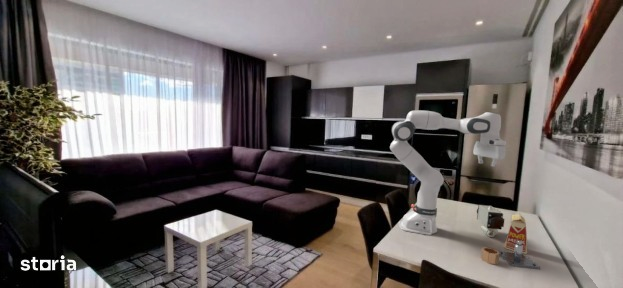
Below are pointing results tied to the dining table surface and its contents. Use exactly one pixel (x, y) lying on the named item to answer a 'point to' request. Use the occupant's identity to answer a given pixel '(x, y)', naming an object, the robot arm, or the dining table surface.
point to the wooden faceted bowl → (490, 255)
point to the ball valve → (490, 219)
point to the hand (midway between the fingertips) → (486, 164)
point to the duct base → (518, 262)
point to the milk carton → (517, 233)
